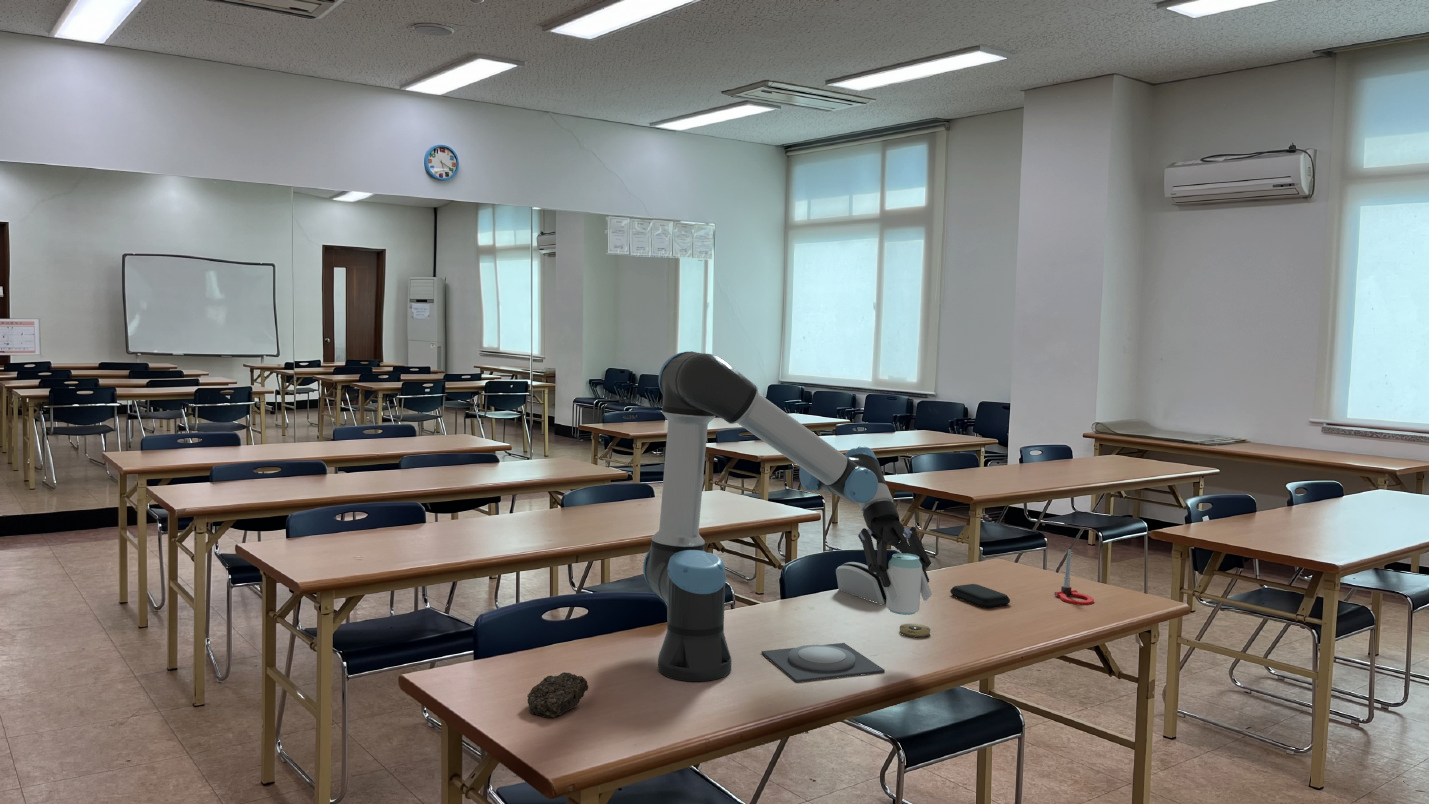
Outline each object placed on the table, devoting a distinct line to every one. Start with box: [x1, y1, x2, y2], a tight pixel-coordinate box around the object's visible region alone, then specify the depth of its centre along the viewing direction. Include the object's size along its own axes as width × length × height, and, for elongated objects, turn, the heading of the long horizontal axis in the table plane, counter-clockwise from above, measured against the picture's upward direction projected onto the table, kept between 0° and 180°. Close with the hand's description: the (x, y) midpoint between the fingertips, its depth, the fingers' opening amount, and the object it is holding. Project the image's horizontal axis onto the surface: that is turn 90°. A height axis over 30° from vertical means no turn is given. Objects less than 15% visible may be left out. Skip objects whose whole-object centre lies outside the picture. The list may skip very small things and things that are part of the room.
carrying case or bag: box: [949, 583, 1011, 609], centre depth 259 cm, size 11×3×15 cm
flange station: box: [760, 642, 886, 683], centre depth 208 cm, size 20×18×2 cm
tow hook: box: [1053, 549, 1095, 606], centre depth 261 cm, size 8×13×9 cm
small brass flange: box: [899, 623, 931, 639], centre depth 230 cm, size 7×7×1 cm
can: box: [885, 552, 922, 616], centre depth 211 cm, size 7×7×12 cm
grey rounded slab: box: [835, 561, 887, 605], centre depth 260 cm, size 17×5×10 cm, turn 34°
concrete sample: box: [526, 672, 589, 719], centre depth 182 cm, size 12×10×5 cm
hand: (912, 598), depth 208 cm, fingers closed on can, 7 cm apart
